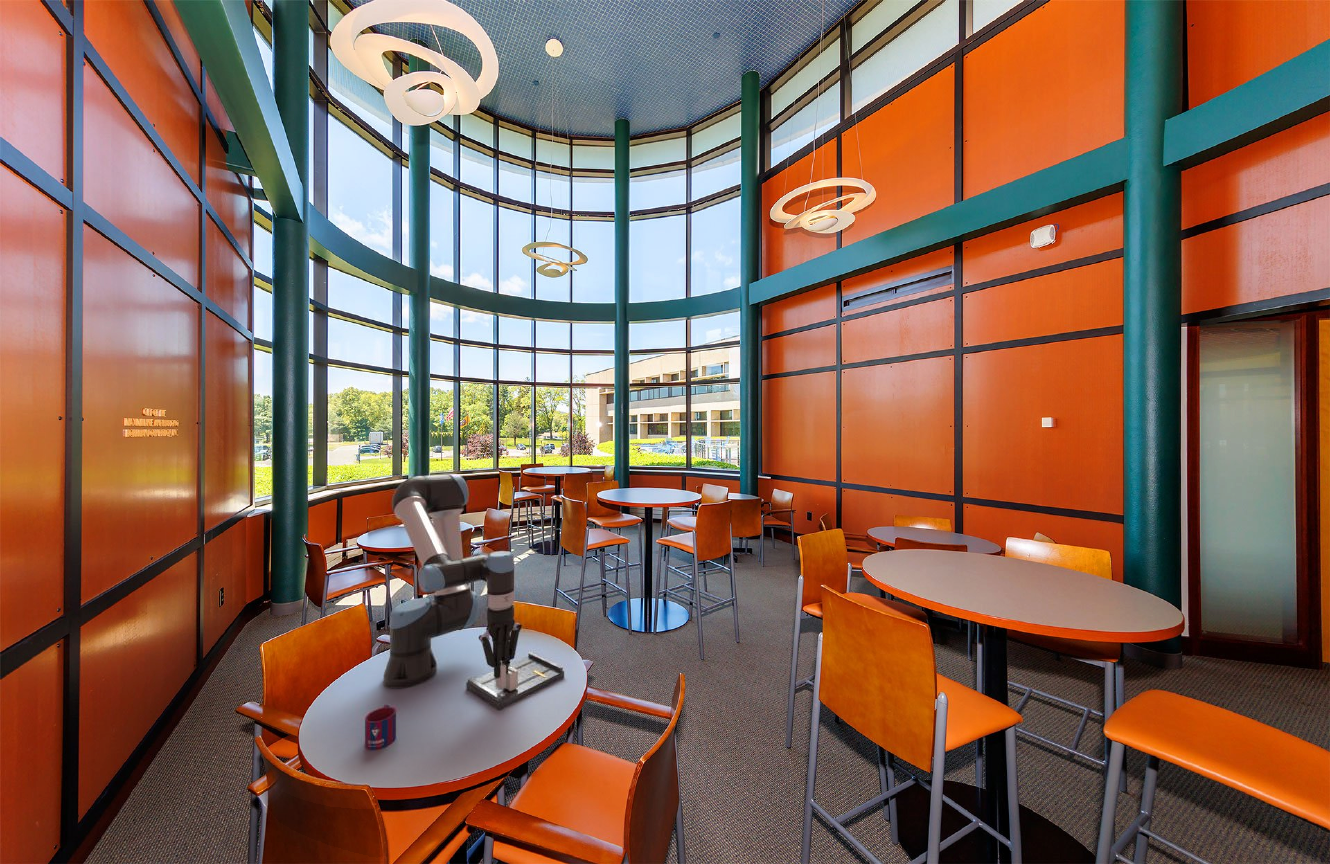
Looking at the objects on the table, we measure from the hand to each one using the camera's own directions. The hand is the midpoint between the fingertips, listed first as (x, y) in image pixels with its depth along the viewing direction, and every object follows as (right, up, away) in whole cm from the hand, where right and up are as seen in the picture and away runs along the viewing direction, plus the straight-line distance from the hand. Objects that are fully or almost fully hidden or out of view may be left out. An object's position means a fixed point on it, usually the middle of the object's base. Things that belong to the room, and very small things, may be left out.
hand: (501, 686), depth 136 cm
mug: (-24, -4, -17) cm, 30 cm away
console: (+2, -4, +9) cm, 10 cm away
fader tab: (+2, -1, +2) cm, 3 cm away
